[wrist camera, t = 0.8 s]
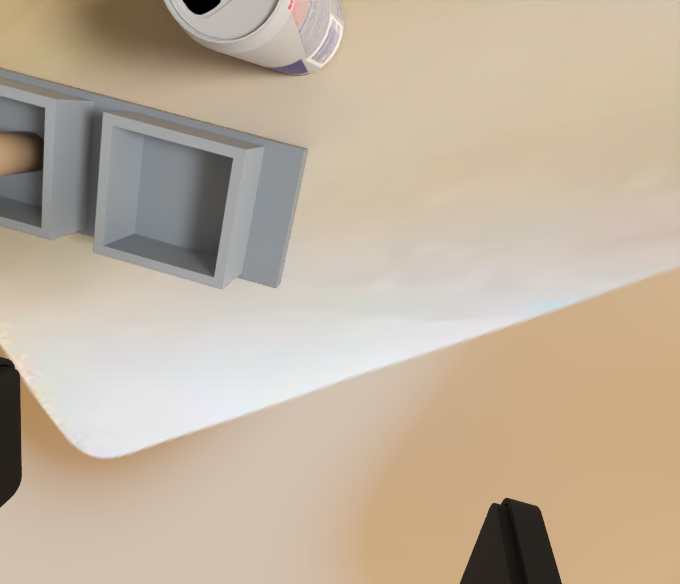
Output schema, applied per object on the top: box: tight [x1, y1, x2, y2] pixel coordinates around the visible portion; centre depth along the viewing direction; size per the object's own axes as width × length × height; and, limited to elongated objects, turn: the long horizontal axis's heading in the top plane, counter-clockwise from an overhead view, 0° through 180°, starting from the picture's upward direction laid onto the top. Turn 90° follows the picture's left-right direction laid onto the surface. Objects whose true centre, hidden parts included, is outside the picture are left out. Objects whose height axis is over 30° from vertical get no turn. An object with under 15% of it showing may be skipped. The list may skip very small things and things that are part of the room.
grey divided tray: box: [0, 68, 308, 289], centre depth 31 cm, size 24×9×6 cm, turn 76°
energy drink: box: [163, 0, 344, 76], centre depth 24 cm, size 5×5×12 cm
